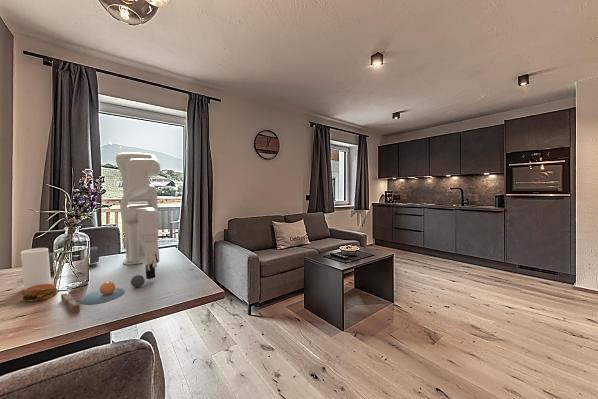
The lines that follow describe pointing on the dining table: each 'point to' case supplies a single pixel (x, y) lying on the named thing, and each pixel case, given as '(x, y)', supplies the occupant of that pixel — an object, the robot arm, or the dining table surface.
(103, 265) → the dining table surface
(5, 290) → the dining table surface
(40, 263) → the cup
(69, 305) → the stopper wall
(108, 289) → the object ball
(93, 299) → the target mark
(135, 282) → the dark grey sphere
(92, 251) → the bluetooth speaker
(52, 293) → the burger
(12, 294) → the dining table surface
